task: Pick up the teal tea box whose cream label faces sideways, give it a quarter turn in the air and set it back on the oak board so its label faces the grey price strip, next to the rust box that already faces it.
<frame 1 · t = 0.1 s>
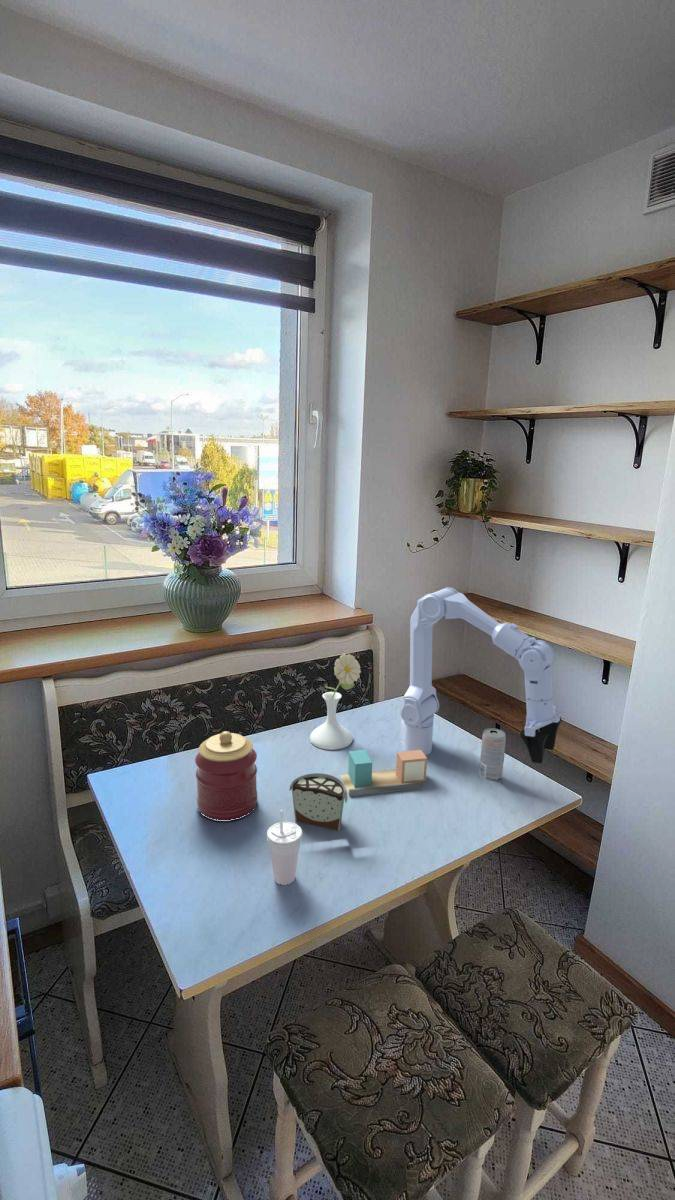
hand: (543, 755, 135), 11 cm above the table, tool pointing down, fingers open, 7 cm apart
food container: (321, 823, 127), on the table
energy drink: (490, 779, 145), on the table
teal box: (367, 779, 141), point 1 cm above the table, touching board
canister: (227, 806, 132), on the table
board: (379, 785, 141), on the table
smoothie: (284, 878, 111), on the table
flower in vase: (334, 744, 160), on the table
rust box: (413, 782, 140), point 1 cm above the table, touching board
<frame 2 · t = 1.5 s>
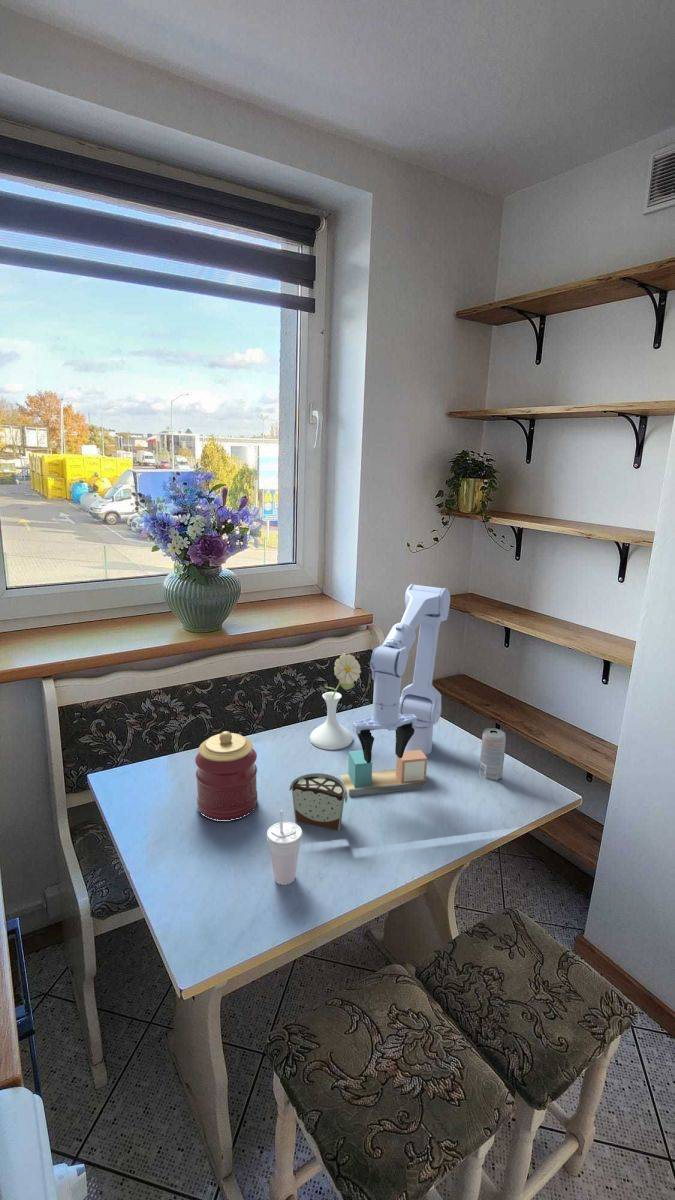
hand: (383, 758, 133), 10 cm above the table, tool pointing down, fingers open, 7 cm apart
nothing on the table moved.
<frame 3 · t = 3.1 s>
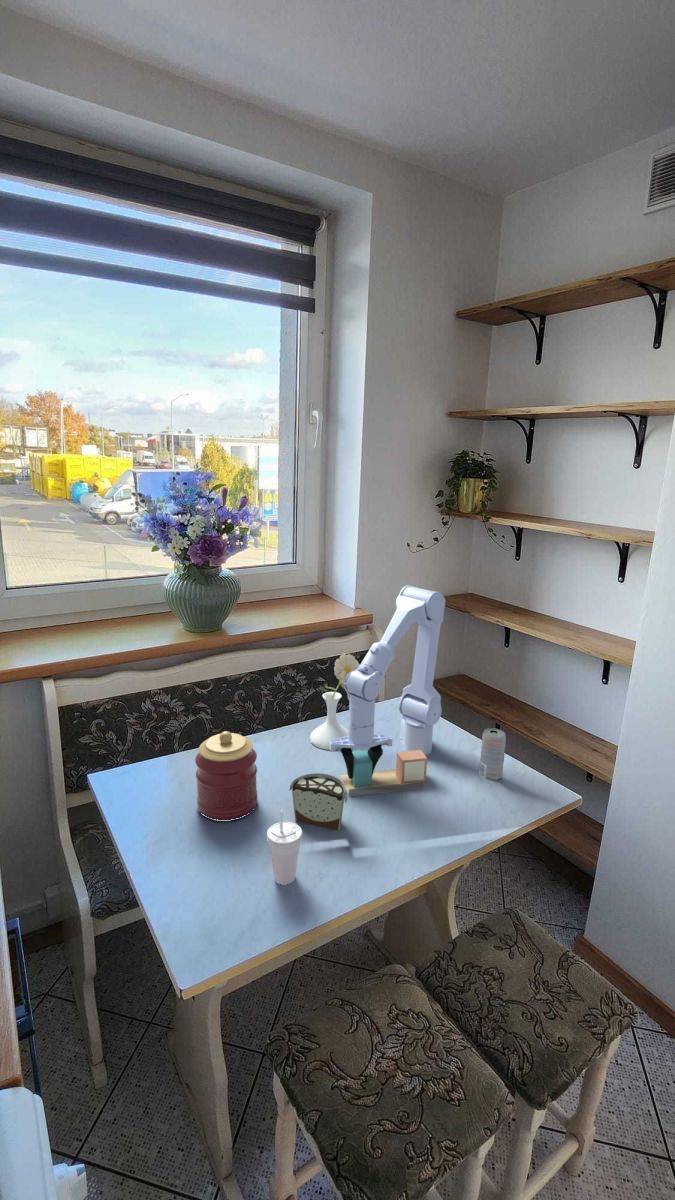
hand: (359, 775, 141), 2 cm above the table, tool pointing down, fingers closed on teal box, 4 cm apart
teal box: (367, 779, 141), point 1 cm above the table, touching board, gripper
everything else where it was.
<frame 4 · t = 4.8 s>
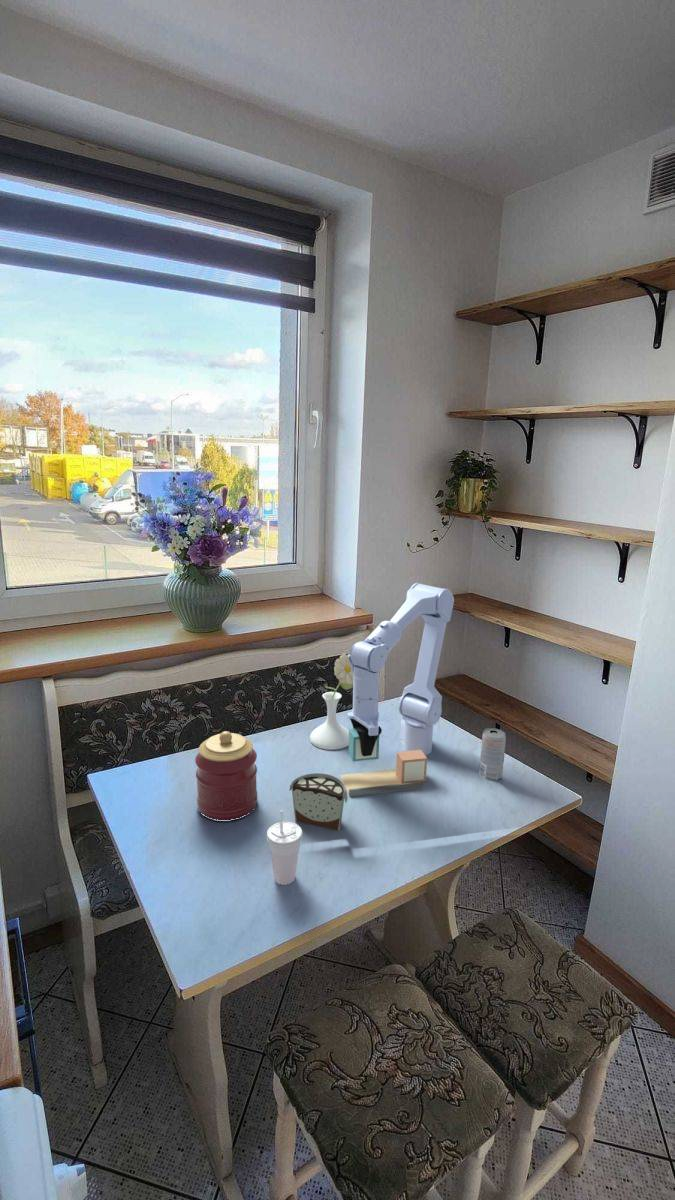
hand: (363, 750, 138), 9 cm above the table, tool pointing down, fingers closed on teal box, 4 cm apart
teal box: (365, 760, 137), point 8 cm above the table, touching gripper
everything else where it was.
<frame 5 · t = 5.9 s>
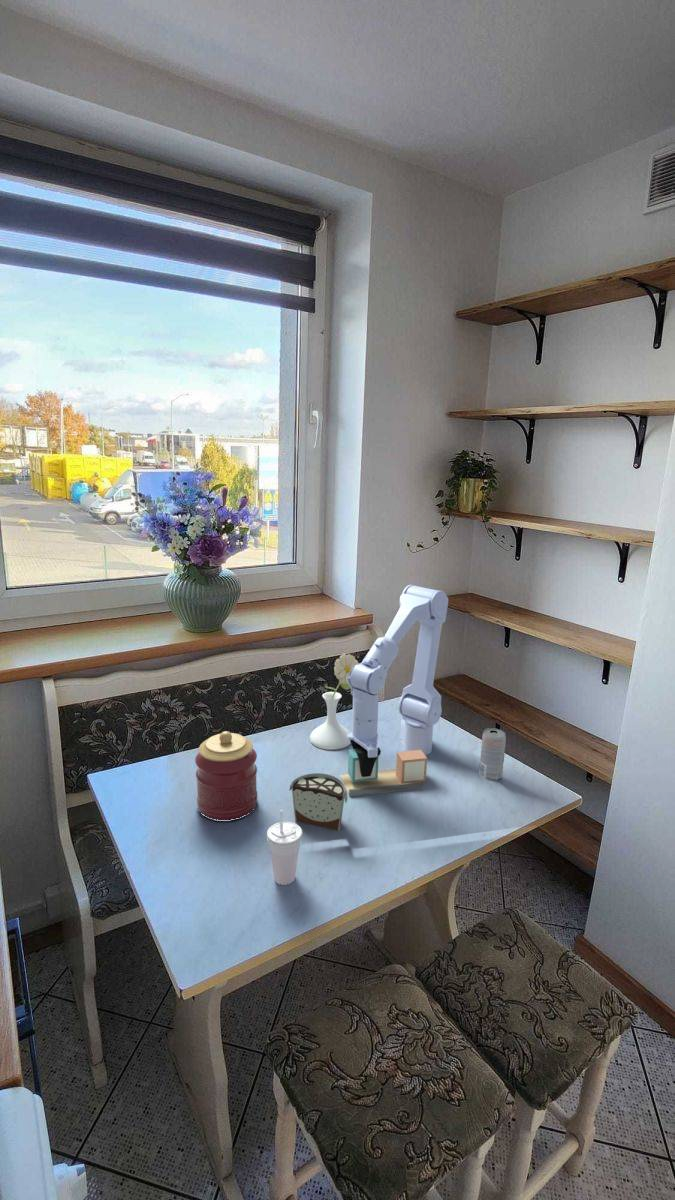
hand: (363, 770, 139), 4 cm above the table, tool pointing down, fingers closed on teal box, 4 cm apart
teal box: (365, 780, 138), point 3 cm above the table, touching gripper
everything else where it was.
when the fingers open (3 cm above the table, at t = 6.5 s): teal box stays where it is, resting on board.
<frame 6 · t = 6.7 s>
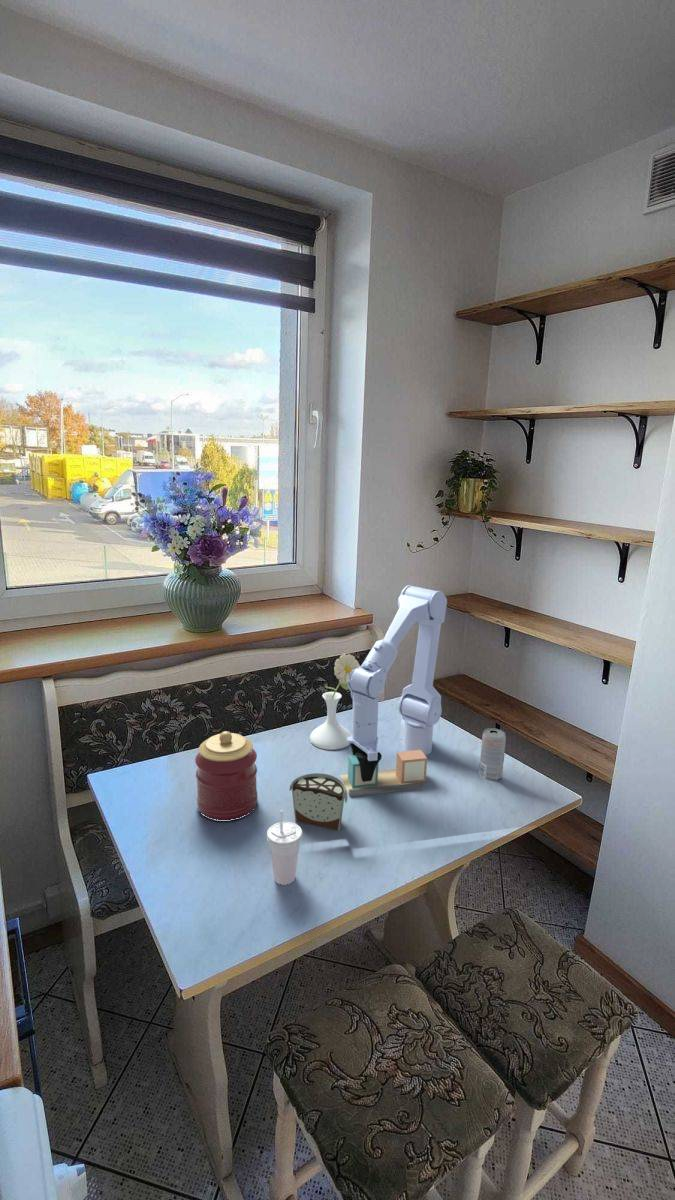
hand: (363, 773, 140), 3 cm above the table, tool pointing down, fingers open, 5 cm apart
teal box: (364, 786, 138), point 1 cm above the table, touching board
everything else where it was.
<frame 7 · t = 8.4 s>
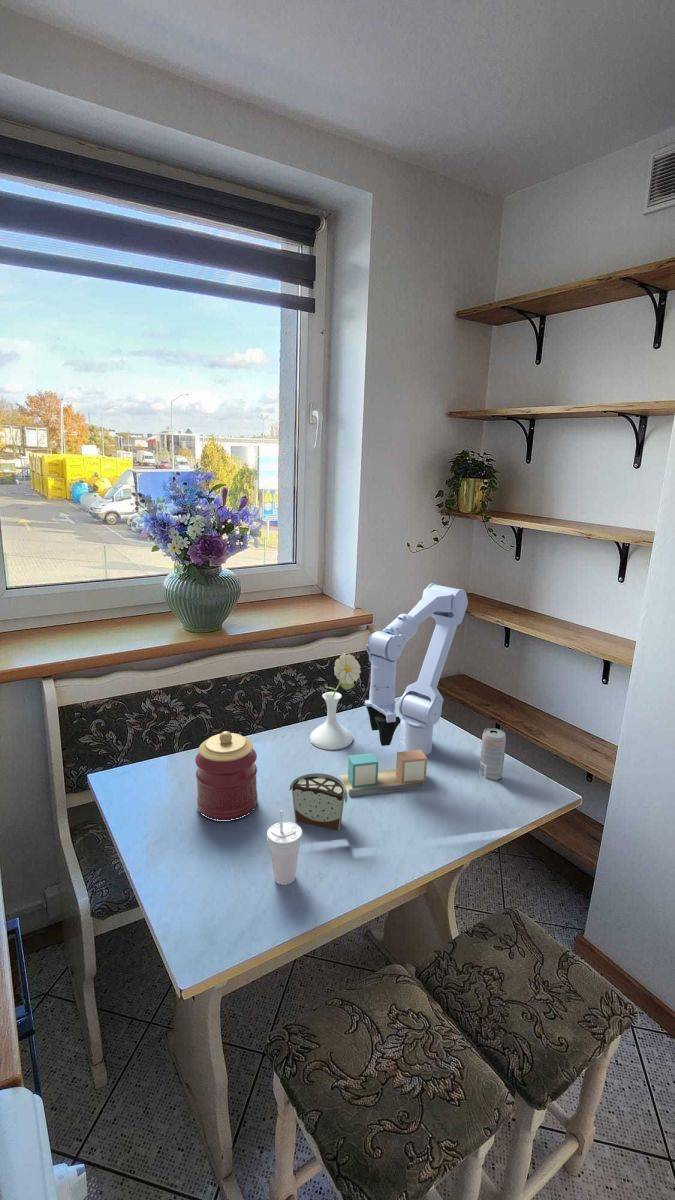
hand: (380, 737, 142), 10 cm above the table, tool pointing down, fingers open, 7 cm apart
nothing on the table moved.
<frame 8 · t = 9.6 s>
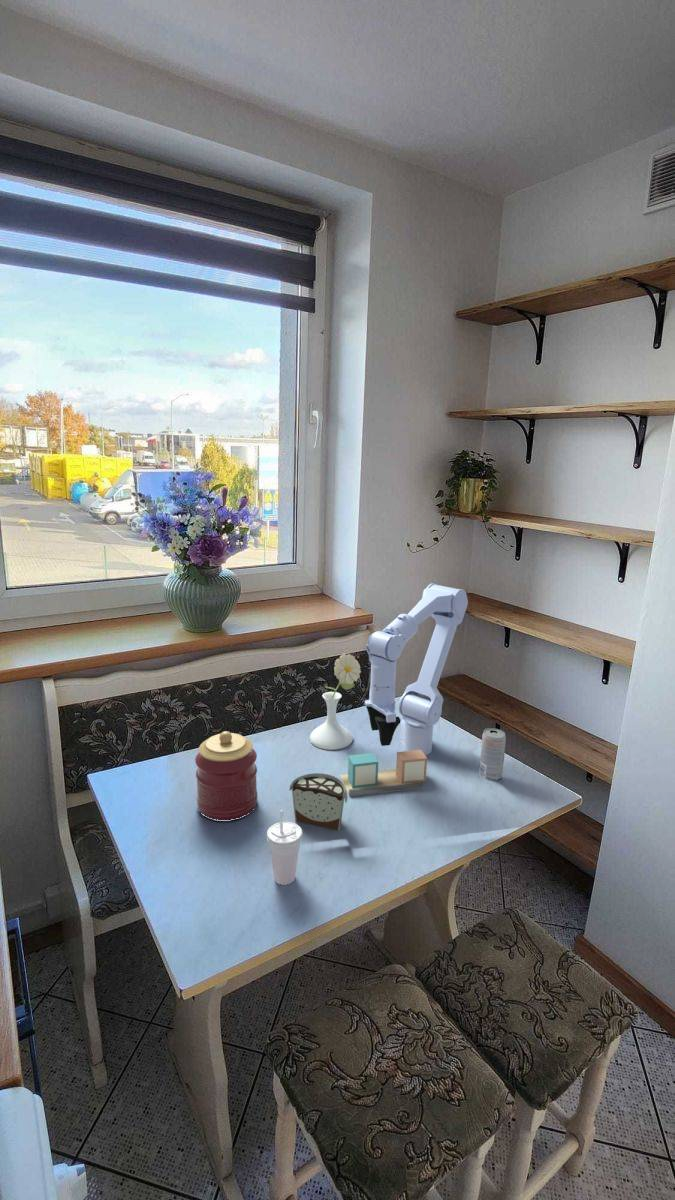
hand: (380, 737, 142), 10 cm above the table, tool pointing down, fingers open, 7 cm apart
nothing on the table moved.
at the end: teal box 0.6 cm from the target spot, point 1.2 cm above the table; teal box tilted 0°; the gripper is holding nothing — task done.
